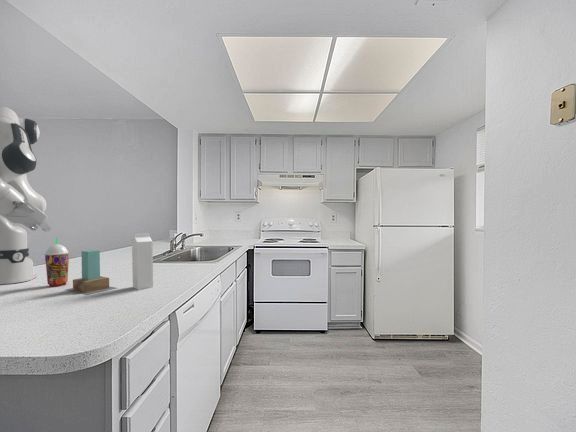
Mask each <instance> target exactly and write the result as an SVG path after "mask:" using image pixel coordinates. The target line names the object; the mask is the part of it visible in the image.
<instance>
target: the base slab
mask: <svg viewBox="0 0 576 432" xmlns="http://www.w3.org/2000/svg"><path fill="white" fill-rule="evenodd" d="M109 286H110V277H106V276H101V275H100V278H99V279H93V280H84V279H82V277H81V278H76V279H75V278H74V279H72V288H73V290H75V291H80V292H84V293H88V292H92V291H97V290H102V289H106V288H109Z"/></svg>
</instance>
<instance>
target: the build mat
mask: <svg viewBox="0 0 576 432" xmlns="http://www.w3.org/2000/svg"><path fill="white" fill-rule="evenodd" d="M116 289H118V287H116V286H115V287H114V286H111V285H109V288H106V289H102V290H97V291H92V292H88V293H84V292H80V291H75V290H73V287H70V288H67V289H64V291H67V292H71V293H76V294H77V293H78V294H81V295H86V296H88V295H93V294H94V295H95V294H99V293H102V292H106V291H107V292H108V291H112V290H116Z"/></svg>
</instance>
